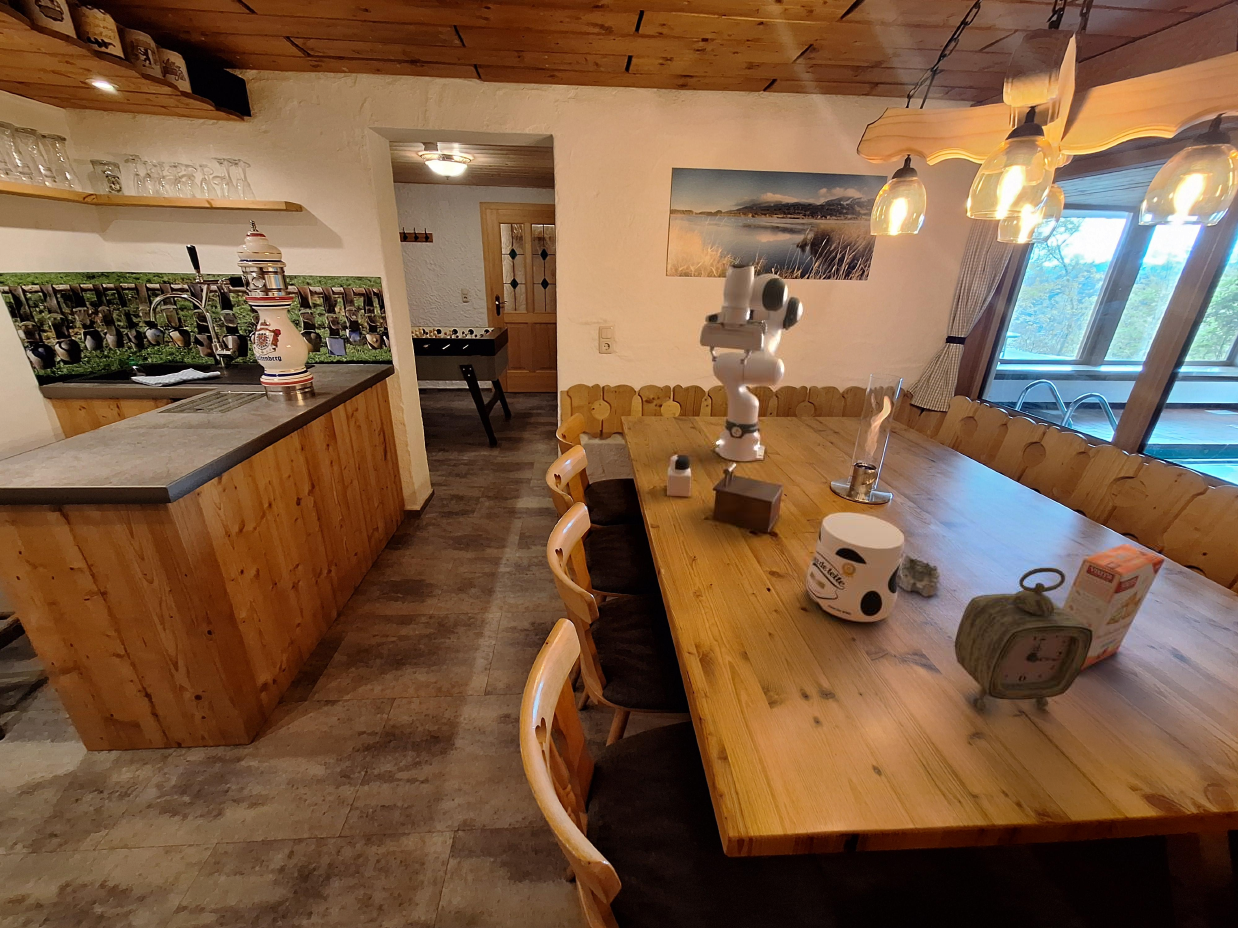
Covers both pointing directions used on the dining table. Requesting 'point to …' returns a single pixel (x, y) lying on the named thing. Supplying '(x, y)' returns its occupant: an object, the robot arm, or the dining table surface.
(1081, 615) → the cracker box
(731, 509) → the chest
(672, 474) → the medicine bottle
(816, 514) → the dining table surface
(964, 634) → the tabletop clock
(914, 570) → the egg carton
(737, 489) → the chest lid
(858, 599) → the milk container
